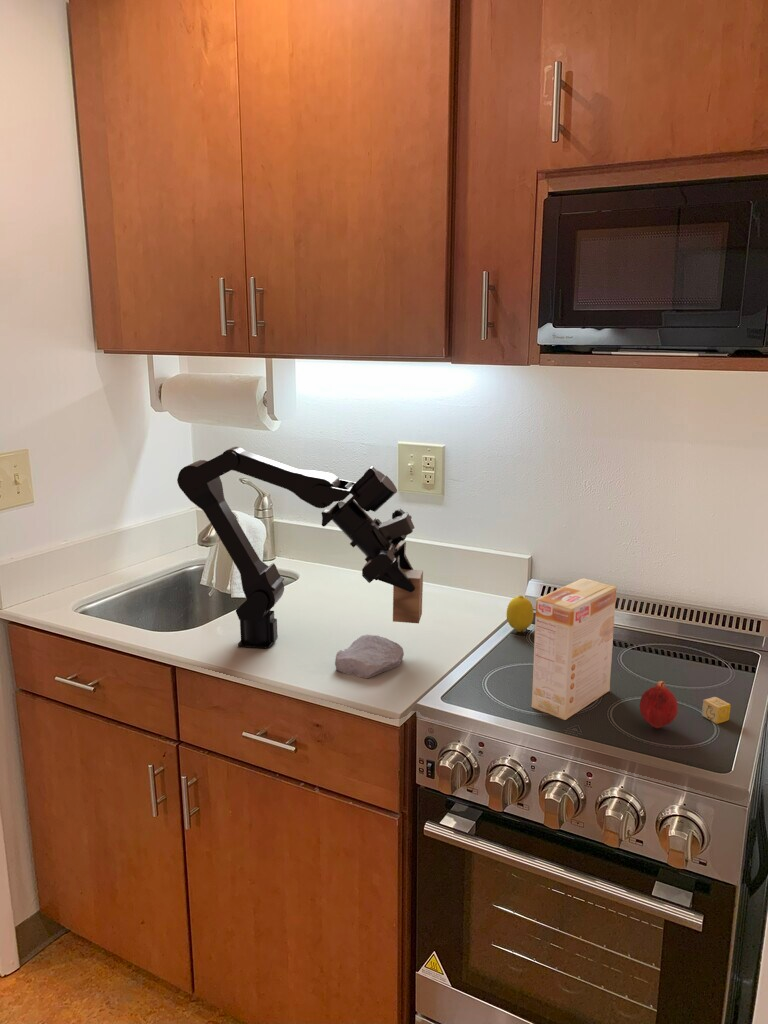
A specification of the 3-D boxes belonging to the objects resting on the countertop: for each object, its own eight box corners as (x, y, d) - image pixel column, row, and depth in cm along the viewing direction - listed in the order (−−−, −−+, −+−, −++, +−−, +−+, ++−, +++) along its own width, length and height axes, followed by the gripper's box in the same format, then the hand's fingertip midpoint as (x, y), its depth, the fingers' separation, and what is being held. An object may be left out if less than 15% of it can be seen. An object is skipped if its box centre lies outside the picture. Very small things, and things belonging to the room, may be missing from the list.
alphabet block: (714, 712, 136) (715, 695, 135) (729, 720, 133) (731, 703, 132) (701, 716, 134) (702, 699, 134) (716, 724, 132) (718, 707, 131)
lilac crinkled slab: (406, 667, 157) (363, 647, 161) (411, 646, 155) (367, 626, 160) (375, 694, 147) (329, 672, 152) (379, 671, 146) (333, 650, 150)
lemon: (518, 639, 166) (520, 602, 164) (500, 630, 170) (501, 594, 168) (538, 633, 169) (540, 596, 167) (520, 624, 173) (521, 589, 171)
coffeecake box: (575, 679, 148) (582, 576, 143) (611, 691, 143) (619, 586, 138) (529, 707, 137) (534, 598, 133) (565, 721, 133) (572, 608, 128)
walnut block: (392, 621, 156) (393, 576, 154) (396, 612, 160) (397, 568, 158) (418, 623, 155) (419, 578, 153) (421, 614, 160) (423, 570, 158)
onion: (675, 740, 127) (679, 692, 125) (636, 733, 129) (640, 686, 127) (676, 722, 132) (680, 677, 130) (639, 716, 134) (643, 671, 132)
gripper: (380, 511, 144) (440, 574, 145) (396, 489, 162) (450, 545, 162) (337, 551, 147) (396, 613, 148) (357, 525, 165) (410, 580, 166)
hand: (415, 585), depth 156 cm, fingers closed on walnut block, 5 cm apart
